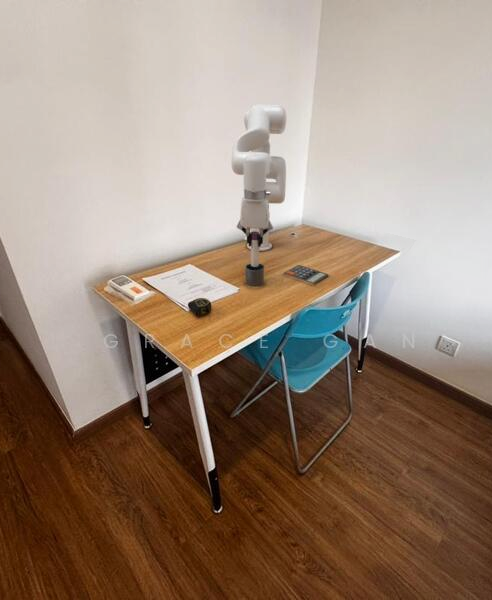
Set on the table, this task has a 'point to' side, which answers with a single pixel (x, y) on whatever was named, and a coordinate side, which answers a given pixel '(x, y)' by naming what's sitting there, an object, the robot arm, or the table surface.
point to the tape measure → (200, 306)
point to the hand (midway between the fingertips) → (254, 245)
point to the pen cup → (254, 275)
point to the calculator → (306, 274)
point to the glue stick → (254, 249)
